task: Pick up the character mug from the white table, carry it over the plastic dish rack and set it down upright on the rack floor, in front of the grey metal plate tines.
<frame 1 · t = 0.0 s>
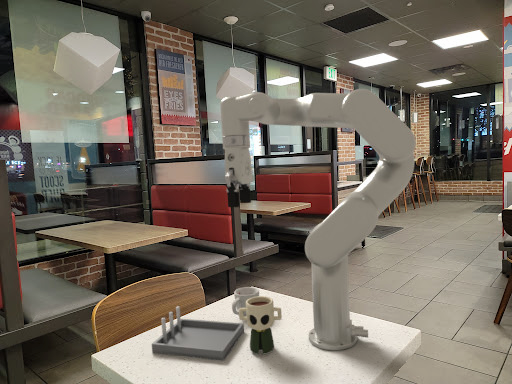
hand: (240, 204, 103), 37 cm above the table, tool pointing down, fingers open, 9 cm apart
cup: (245, 317, 117), on the table
dish rack: (200, 342, 102), on the table
character mug: (262, 350, 96), on the table
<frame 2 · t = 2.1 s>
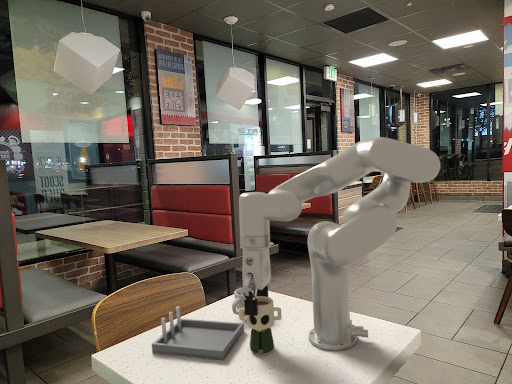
hand: (257, 307, 95), 11 cm above the table, tool pointing down, fingers open, 9 cm apart
nothing on the table moved.
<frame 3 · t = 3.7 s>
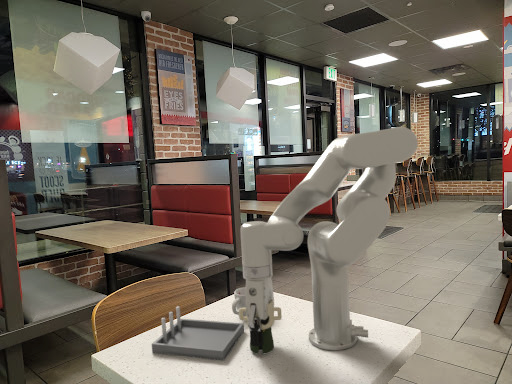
hand: (261, 337, 95), 3 cm above the table, tool pointing down, fingers closed on character mug, 7 cm apart
character mug: (262, 350, 96), on the table, touching gripper
everything else where it was.
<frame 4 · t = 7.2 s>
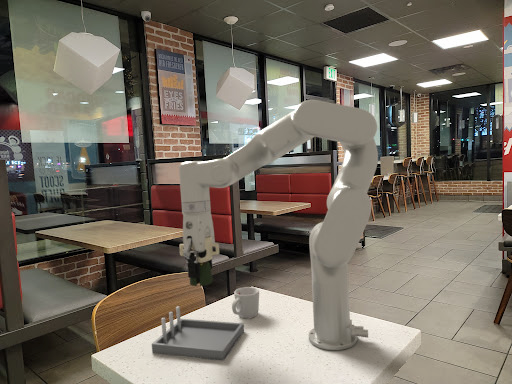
hand: (200, 272, 100), 20 cm above the table, tool pointing down, fingers closed on character mug, 7 cm apart
character mug: (201, 285, 100), point 16 cm above the table, touching gripper
everything else where it was.
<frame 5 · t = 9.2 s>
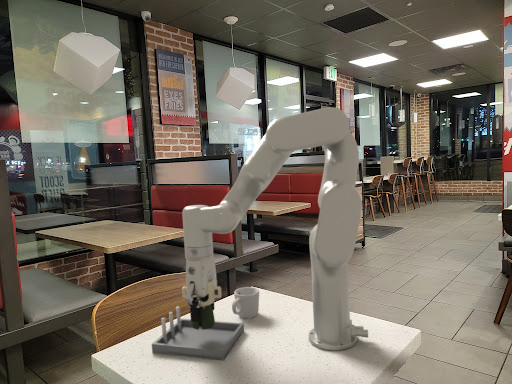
hand: (203, 315, 101), 8 cm above the table, tool pointing down, fingers closed on character mug, 7 cm apart
character mug: (203, 327, 101), point 4 cm above the table, touching gripper
everything else where it was.
when the fingers open (5 cm above the table, at t = 10.7 s): character mug drops 1 cm, resting on dish rack.
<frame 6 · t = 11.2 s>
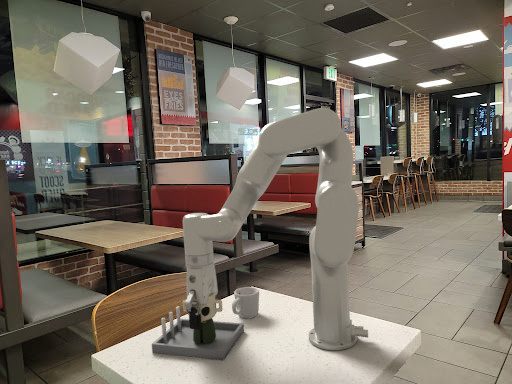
hand: (203, 320, 101), 6 cm above the table, tool pointing down, fingers open, 9 cm apart
character mug: (204, 341, 101), point 1 cm above the table, touching dish rack
everything else where it was.
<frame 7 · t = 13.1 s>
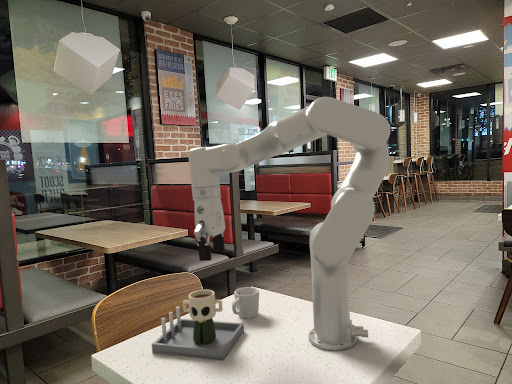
hand: (212, 255, 101), 24 cm above the table, tool pointing down, fingers open, 9 cm apart
nothing on the table moved.
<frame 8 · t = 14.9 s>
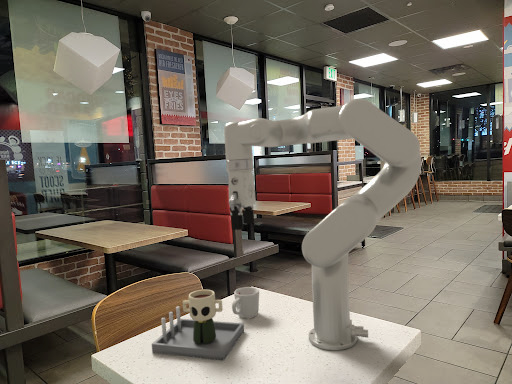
hand: (243, 226, 106), 30 cm above the table, tool pointing down, fingers open, 9 cm apart
nothing on the table moved.
at the end: character mug inside the target area on the dish rack (0.3 cm from its centre), point 0.6 cm above the dish rack's base; character mug tilted 0°; the gripper is holding nothing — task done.
